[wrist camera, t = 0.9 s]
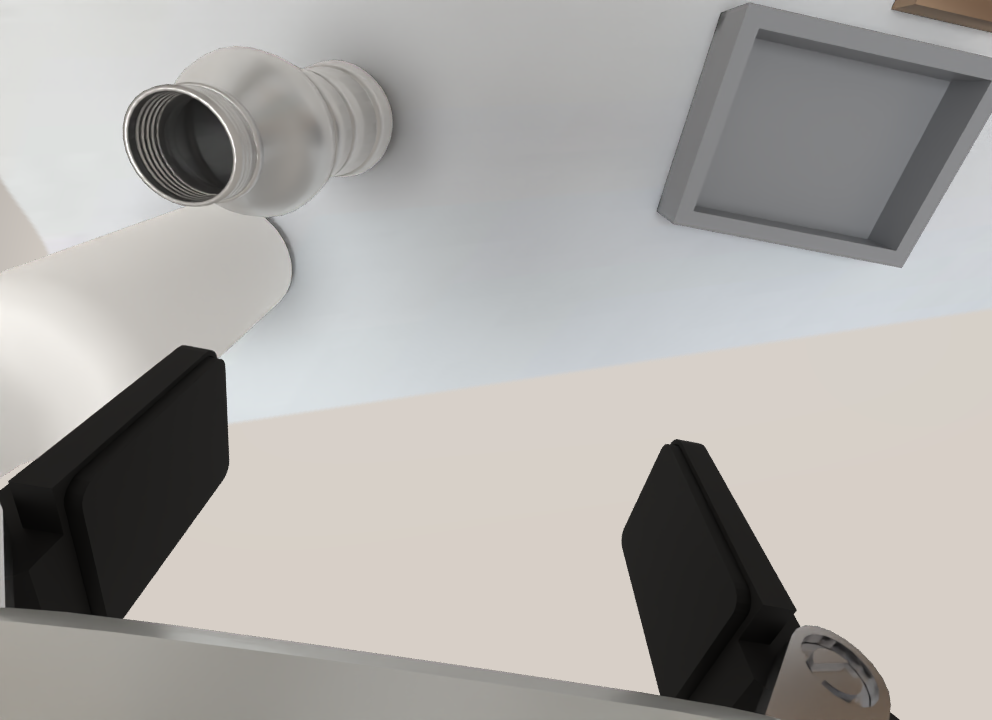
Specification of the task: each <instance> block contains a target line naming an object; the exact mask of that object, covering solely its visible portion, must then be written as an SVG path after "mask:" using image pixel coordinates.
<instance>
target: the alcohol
mask: <svg viewBox="0 0 992 720" xmlns="http://www.w3.org/2000/svg"><path fill="white" fill-rule="evenodd" d="M291 276H292V266H291V259H290V255H289V252H288V249H287V247H286V245H285V243H284V240H283V239H282V237H281V236H280V234H279V233H278V231H277V230H276V229H275V227H274V226H273V225H272V224H271V223H270V222H269V221H268V220H267V219H266V218H264V217H257V216H248V215H242V214H239V213H235V212H231V211H229V210H227V209H224V208H222V207H220V206H218V205H216V204H215V203H214V204H211V205H208V206H200V207H192V206H185V207H183V208H180V209H177V210H174V211H171V212H169V213H166V214H163V215H160V216H157V217H154V218H152V219H149V220H146V221H143V222H140V223H138V224H135V225H132V226H129V227H126V228H123V229H121V230H118V231H115V232H112V233H109V234H107V235H104V236H101V237H98V238H95V239H92V240H90V241H87V242H84V243H81V244H78V245H76V246H73V247H70V248H67V249H64V250H61V251H59V252H56V253H53V254H50V255H47V256H45V257H42V258H39V259H36V260H33V261H30V262H28V263H25V264H22V265H19V266H16V267H14V268H11V269H8V270H5V271H3V272H0V478H1V477H3V476H4V475H6V474H7V473H9V472H10V471H12V470H13V469H15V468H16V467H18V466H19V465H21V464H24V463H27V462H29V461H32V460H35V459H37V458H38V457H40V456H41V455H42V454H43V453H45V452H46V451H47V450H48V449H50V448H51V447H52V446H54V445H55V444H56V443H57V442H59V441H60V440H61V439H62V438H64V437H65V436H66V435H67V434H69V433H70V432H71V431H73V430H74V429H75V428H76V427H78V426H79V425H80V424H81V423H83V422H84V421H85V420H86V419H88V418H89V417H90V416H92V415H93V414H94V413H95V412H97V411H98V410H99V409H100V408H102V407H103V406H104V405H105V404H107V403H108V402H109V401H111V400H112V399H113V398H114V397H116V396H117V395H118V394H119V393H121V392H122V391H123V390H124V389H126V388H127V387H128V386H130V385H131V384H132V383H133V382H135V381H136V380H137V379H138V378H140V377H141V376H142V375H143V374H145V373H146V372H147V371H149V370H150V369H151V368H152V367H154V366H155V365H156V364H157V363H159V362H160V361H161V360H162V359H164V358H165V357H166V356H168V355H169V354H170V353H171V352H173V351H174V350H175V349H176V348H178V347H179V346H181V345H188V346H193V347H198V348H203V349H209V350H213V351H214V352H215V353H216V355H217V358H218V359H219V358H220V357H221V356H222V355H223V354H224V353H225V352H226V351H227V350H228V349H229V348H230V347H232V346H233V345H234V344H235V343H236V342H237V341H238V340H239V339H240V338H241V337H242V336H243V335H244V334H246V333H247V332H248V331H249V330H250V329H251V328H252V327H253V326H254V325H255V324H256V323H257V322H258V321H260V320H261V319H262V318H263V317H264V316H265V315H266V314H267V313H268V312H269V311H270V310H271V309H272V308H274V307H275V306H276V305H277V304H278V303H279V302H280V301H281V300H282V299H283V297H284V296H285V294H286V293H287V291H288V288H289V286H290V283H291Z"/></svg>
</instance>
